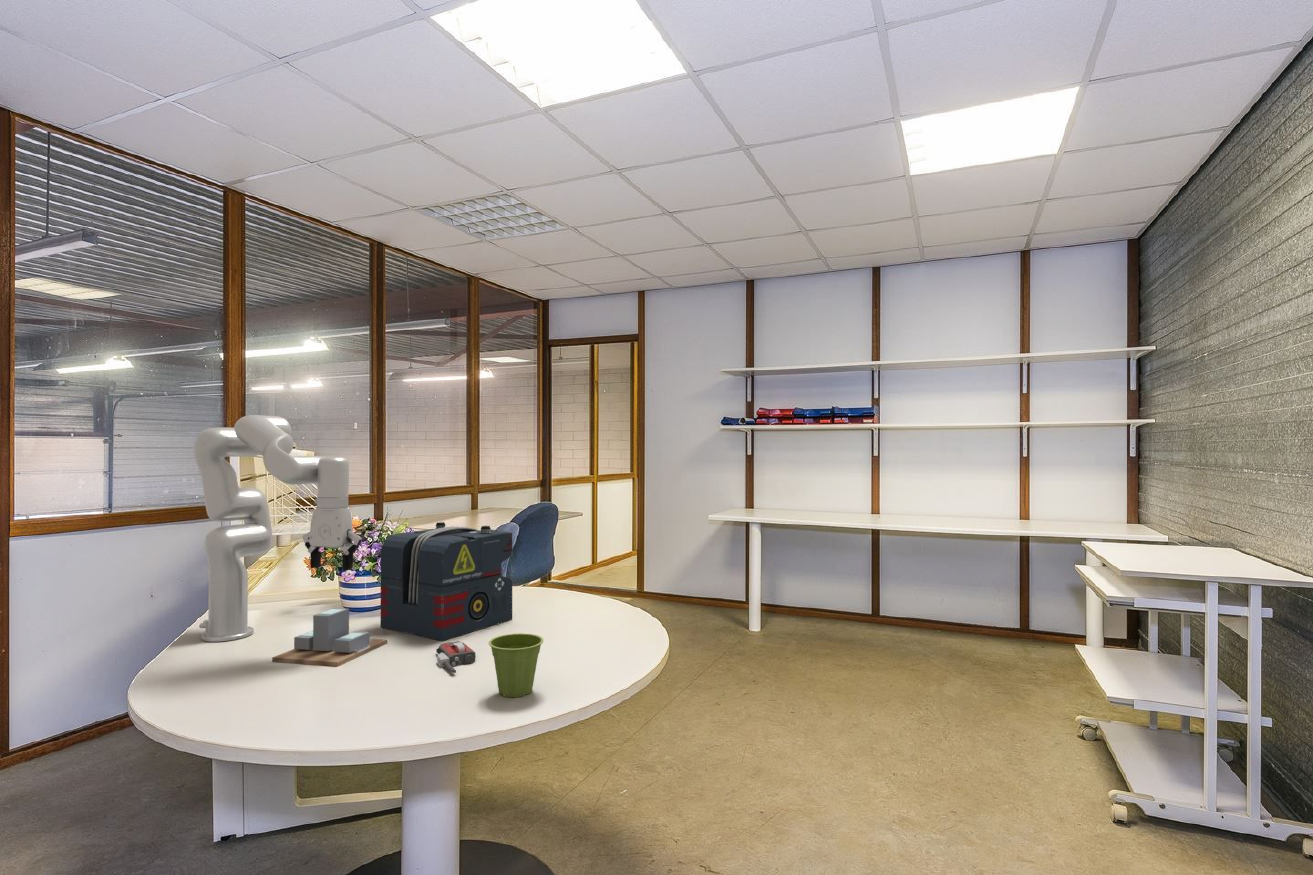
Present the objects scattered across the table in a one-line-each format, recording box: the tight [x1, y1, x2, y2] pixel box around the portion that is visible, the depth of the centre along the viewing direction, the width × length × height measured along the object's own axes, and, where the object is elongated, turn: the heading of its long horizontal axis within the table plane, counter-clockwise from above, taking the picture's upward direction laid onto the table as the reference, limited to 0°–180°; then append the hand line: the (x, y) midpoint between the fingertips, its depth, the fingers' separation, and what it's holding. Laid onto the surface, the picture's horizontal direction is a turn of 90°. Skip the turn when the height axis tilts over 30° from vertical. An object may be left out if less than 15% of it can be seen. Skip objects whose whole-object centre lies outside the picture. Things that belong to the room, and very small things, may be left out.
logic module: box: [312, 607, 350, 651], centre depth 175 cm, size 4×8×9 cm, turn 168°
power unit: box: [380, 521, 513, 642], centre depth 204 cm, size 28×28×30 cm
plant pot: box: [488, 632, 544, 698], centre depth 146 cm, size 12×12×11 cm
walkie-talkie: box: [435, 640, 476, 674], centre depth 166 cm, size 9×4×20 cm
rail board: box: [271, 630, 388, 667], centre depth 175 cm, size 19×20×5 cm
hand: (331, 568), depth 176 cm, fingers open, 9 cm apart
